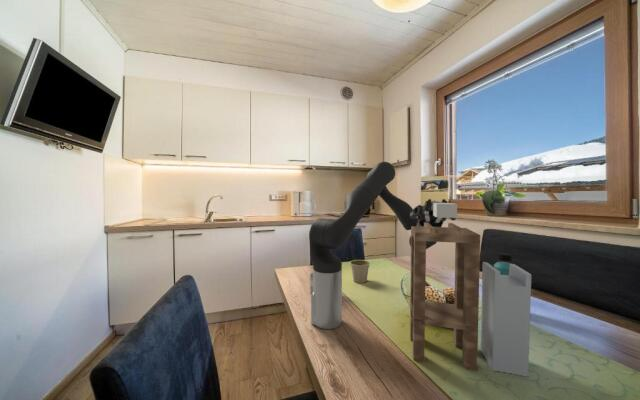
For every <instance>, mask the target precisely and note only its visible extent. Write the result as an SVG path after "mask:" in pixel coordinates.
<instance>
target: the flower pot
mask: <svg viewBox="0 0 640 400" xmlns="http://www.w3.org/2000/svg"><path fill="white" fill-rule="evenodd" d="M349 264H350V267H351V273H352V280H353V281H352V282H354V283H357V284H365V283H367V281H368V274H369V268H370V266H371V262H370V261H368V260H364V259H353V260H351V261H349Z"/></svg>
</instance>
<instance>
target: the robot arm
mask: <svg viewBox="0 0 640 400" xmlns="http://www.w3.org/2000/svg"><path fill="white" fill-rule="evenodd" d="M395 176H396V169H395V167H394V165H393V164H392V163H391V162H388V161H381V162H378V163H377V164H376V165H375V166H373V168H371V169H370V171H368V173H367V175H366V178H365V179H363V180H362V181H361V182H359V183H358V184H357V185H356V186H355V187H353V188H352V190H351V191H350V192H349V193H347V195H346V197H345V198H344V212H343V214H342V215H340V216H339V217H337V218H336V219H335V218H334V219H332V218H323V217H322V218H320V217H319V218H316V219H315V220H313V222H311V226H310V229H309V249H310V250H309V251H310V252H309V253H310V261H311V263H312V273H313V293H312V294H311V293H310V295H311V296H310V315H311V317H310V320H311V322H310V323H311V325H314V326H315V327H317V328H319V329H324V330H332V329H336V328H338V327H340V326H341V325H342V322H343V314H342V313H343V278H342V277H343V274H342V273H343V267H342V265H343V263H342V260H341V259H340V258H339V257H338V256H336V255H335V254H334V253H333V251H332V250H338V249H341V248H342V247H343V246H344V245H346V243H347V241H348V239H349V237H350V236H351V235H352V233H353V231H354V229H355V228H356V226H357V224H358V223H360V220H362V218H363V216H364V215H366V213H367V212H368V211H369V209H371V207H372V206H373V204H374V202H375V201H376V200H377V198H378V197H380V198H381V200H383V202H384V203H386V205H387V206H388V207H389V208H390V210H391V211H392V212H393V213H394V215H395V216H396V218H397V219H398V221H399V222H400V223H401V225H402V227H403V228H404V230H406V231H411V226H422V227H424V222H428V223H429V224H430V225H431V226H433V227H443V224H444V222H446V221H447V219H448V220H451V221H456V219H457V218H444V217H435V216H434V215H433V211H431V210H430V209H431V201H432V198H428V200H425V203H424V204H423V205H421V204H418V205H417V206H415V207H414V208H412V206H411V205H410V204H409V203H408V202H406V201H405V200H403V199H401V198H399V197H398V196H397V195H394V194H393V193H392V192H391V191H390V190H389V189H388V187H387V185H388V184H390V183H391V182H392V181H393V180H394V179H395V178H396V177H395ZM441 202H442V203H449V202H448V201H447V200H446V199H444V198H442V200H441ZM408 239H409V240H408V244H409V246H410V247H411V235H410V236H409V238H408ZM437 243H438V242H433V241H426V250H428V249H429V248H431V247H433V246H434V245H436V244H437Z"/></svg>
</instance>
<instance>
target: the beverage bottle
mask: <svg viewBox="0 0 640 400" xmlns="http://www.w3.org/2000/svg"><path fill="white" fill-rule="evenodd" d="M512 258H513V257H512V254H510V253H505V252H498V253H497V260H499V261H497V262H495V263H494V264H493V267H494V268H495V269H497V270H498V271H499V272H500V275H509V264H512V263H510V262H512V261H513V259H512Z"/></svg>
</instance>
